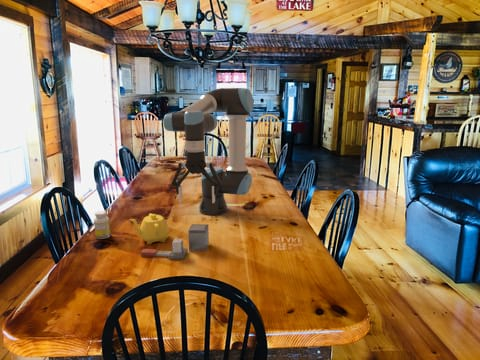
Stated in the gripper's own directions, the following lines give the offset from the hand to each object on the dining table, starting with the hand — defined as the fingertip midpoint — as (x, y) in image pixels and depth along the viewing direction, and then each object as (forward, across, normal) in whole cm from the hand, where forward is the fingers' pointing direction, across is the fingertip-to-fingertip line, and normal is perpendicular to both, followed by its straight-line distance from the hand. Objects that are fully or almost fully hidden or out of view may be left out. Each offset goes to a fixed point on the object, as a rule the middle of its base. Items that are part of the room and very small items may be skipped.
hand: (197, 201), depth 154 cm
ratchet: (+20, -13, -8) cm, 25 cm away
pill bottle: (+20, -46, +9) cm, 51 cm away
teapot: (+20, -23, +6) cm, 31 cm away
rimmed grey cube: (+20, 0, 0) cm, 20 cm away
